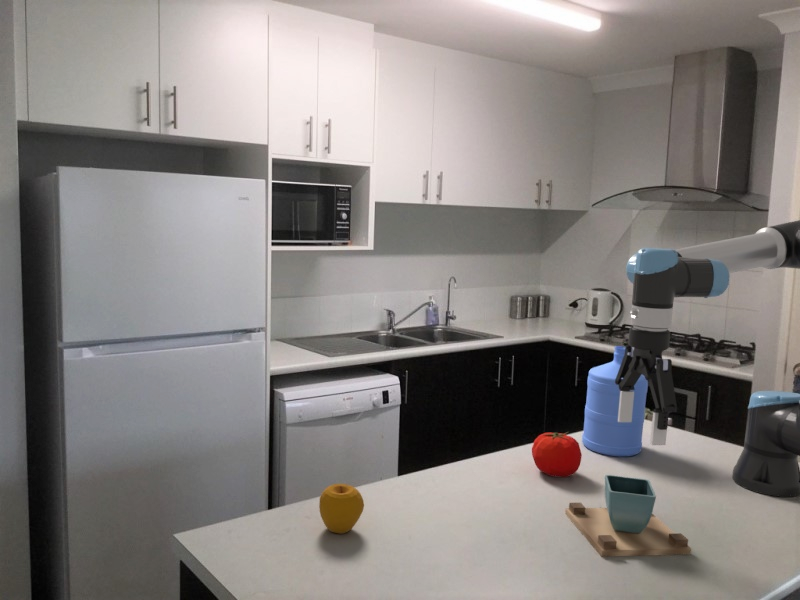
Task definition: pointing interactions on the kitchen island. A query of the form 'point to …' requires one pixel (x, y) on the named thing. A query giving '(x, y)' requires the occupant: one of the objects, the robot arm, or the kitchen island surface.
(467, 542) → the kitchen island surface
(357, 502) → the apple
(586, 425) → the water jug
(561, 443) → the tomato
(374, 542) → the kitchen island surface
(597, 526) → the trivet
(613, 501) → the flower pot
